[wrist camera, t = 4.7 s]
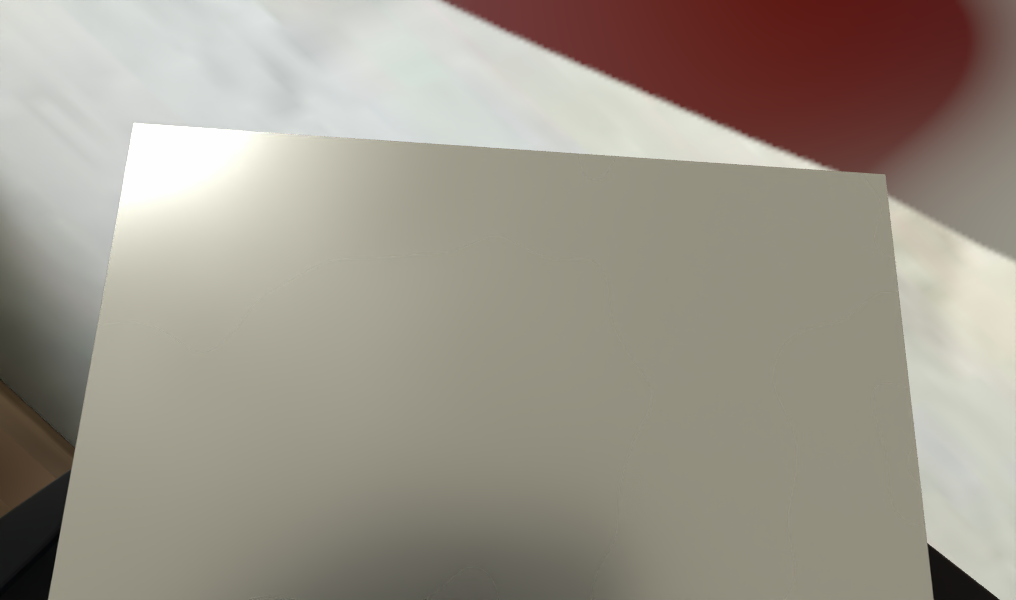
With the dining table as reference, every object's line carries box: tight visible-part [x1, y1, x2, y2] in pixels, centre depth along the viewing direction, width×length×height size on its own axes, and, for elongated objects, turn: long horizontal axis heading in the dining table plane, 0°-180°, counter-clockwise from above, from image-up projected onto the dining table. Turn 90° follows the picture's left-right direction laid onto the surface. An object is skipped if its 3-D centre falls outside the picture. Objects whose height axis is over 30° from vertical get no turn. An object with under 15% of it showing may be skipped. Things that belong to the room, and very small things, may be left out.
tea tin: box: [48, 123, 934, 600], centre depth 10 cm, size 5×5×13 cm
